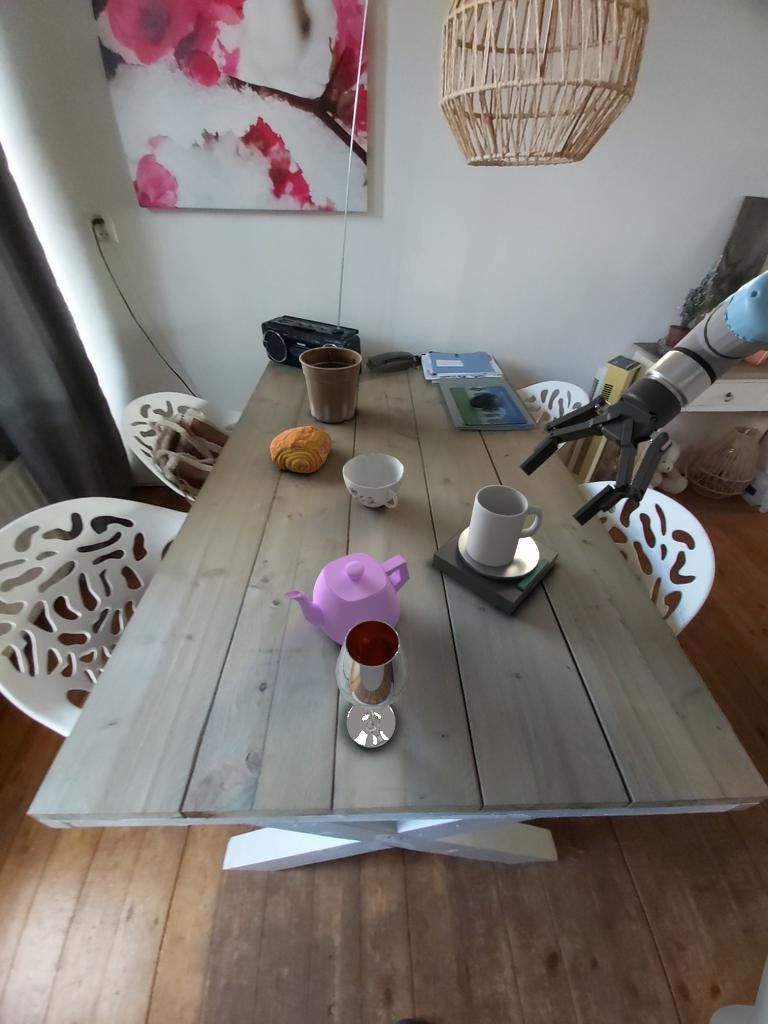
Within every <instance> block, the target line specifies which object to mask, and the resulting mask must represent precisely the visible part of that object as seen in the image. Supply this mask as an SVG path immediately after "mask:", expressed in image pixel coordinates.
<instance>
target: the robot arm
mask: <svg viewBox="0 0 768 1024" xmlns="http://www.w3.org/2000/svg"><path fill="white" fill-rule="evenodd" d="M759 352H768V270H765V272H762V273H761V274H759V275H758V276H757V277H754V278H753V279H751V280H749V281H747V282H746V283H745V284H743V285H742V286H741V287H740V288H739V289H738V290H737V291H735V292H734V293H732V294H731V295H729V296H728V297H727V298H726V299H725V300H723V301H722V302H720V303H719V304H718V305H716V306H715V307H714V308H712V310H710V312H709V313H708V314H707V316H705V317H704V318H703V319H702V320H701V321H700V322H699V323H698V324H696V326H695V327H693V329H691V330H690V331H689V332H688V333H687V334H686V335H685V336H684V337H683V338H682V339H681V340H680V341H678V343H676V345H674V347H673V348H671V349H670V350H669V351H668V352H666V353H665V354H664V355H662V357H661V358H660V359H658V360H657V361H656V362H655V363H654V364H653V365H651V366H650V367H649V368H648V369H647V370H646V371H645V373H644V376H642V377H639V378H638V379H637V380H636V381H635V382H634V383H632V384H631V385H630V386H629V387H628V388H627V389H625V391H624V392H623V393H622V395H621V396H620V398H619V400H618V401H616V402H615V403H613V404H611V403H610V402H608V401H607V399H606V397H605V396H604V395H603V394H600V395H597V396H596V397H594V398H593V399H592V400H591V401H589V402H588V403H587V404H585V405H583V406H580V407H579V408H576V409H574V410H572V411H569V412H568V413H566V414H563V415H561V416H559V417H557V418H555V419H554V420H551V421H549V422H547V423H545V424H543V429H544V430H545V432H546V437H545V438H544V439H543V440H542V441H540V443H539V444H537V445H536V446H535V447H534V448H533V450H532V451H533V453H532V454H531V455H530V456H529V457H527V459H525V460H524V462H522V463H521V464H520V465H519V466H518V467H519V468H520V469H521V470H522V472H523V473H525V475H527V477H530V476H531V475H532V474H534V472H535V471H537V470H538V469H539V468H540V467H541V466H542V465H543V464H544V463H545V462H546V461H547V460H549V458H551V457H552V456H553V455H554V454H555V453H556V452H557V451H558V450H559V445H561V444H565V443H570V442H574V441H578V440H582V439H586V438H590V437H594V436H596V437H603V436H604V438H605V439H606V440H608V441H610V442H613V443H614V444H615V445H616V446H617V447H618V448H621V450H620V456H619V461H618V466H617V473H616V478H615V483H613V484H612V485H613V486H612V485H611V484H609V483H608V484H607V485H606V486H605V487H603V488H602V489H601V490H600V491H599V492H598V493H597V494H595V495H594V496H593V497H592V498H591V499H590V500H588V501H587V502H586V503H585V504H584V505H583V506H581V507H580V508H579V509H578V510H577V511H576V512H575V513H574V514H572V515H571V516H572V517H573V519H574V520H575V521H576V522H577V523H578V524H579V525H580V526H581V527H583V526H584V525H586V524H587V523H589V521H590V520H591V519H593V518H594V517H595V516H596V515H598V514H599V513H600V512H603V513H607V512H609V511H610V510H611V509H612V508H613V507H614V506H616V505H618V503H619V502H621V501H622V500H623V499H630V500H632V501H634V502H636V503H639V502H641V501H643V499H644V498H645V495H646V493H647V491H648V488H649V486H650V485H651V482H652V480H653V477H654V475H655V474H656V471H657V468H658V466H659V465H660V462H661V460H662V457H663V456H664V455H665V454H666V453H667V452H668V451H669V450H670V449H671V448H672V446H673V441H672V439H671V437H670V434H669V433H668V432H667V431H663V432H659V430H660V429H663V428H665V427H666V426H667V425H668V424H669V423H670V422H671V421H673V420H674V419H675V418H676V417H677V416H679V414H681V412H682V409H683V408H688V406H689V405H690V404H692V403H693V402H694V401H695V400H696V399H697V398H699V397H700V396H701V395H702V394H703V393H705V392H706V390H708V389H709V388H710V387H711V386H712V385H714V384H715V382H717V381H718V380H719V379H720V378H721V377H723V376H724V375H725V374H726V373H727V372H729V370H731V369H732V368H733V367H734V366H736V365H737V364H738V363H739V362H741V361H742V360H745V359H746V358H748V357H750V356H753V355H754V354H756V353H759ZM645 442H648V444H649V445H648V447H647V448H646V451H645V453H644V455H643V458H642V459H641V462H640V464H639V466H638V468H637V470H636V473H635V475H634V477H633V474H634V468H635V460H636V457H637V456H638V452H639V445H640V444H641V443H645ZM759 982H760V983H759V987H758V991H757V994H756V997H755V1001H754V1005H748V1004H739V1003H738V1004H727V1005H725V1006H722V1007H719V1008H718V1009H717V1010H716V1011H715V1012H714V1013H713V1014H712V1016H711V1018H710V1019H709V1022H708V1024H768V954H767V955H766V959H765V963H764V966H763V970H762V974H761V979H760V981H759Z"/></svg>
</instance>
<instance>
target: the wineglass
mask: <svg viewBox="0 0 768 1024" xmlns="http://www.w3.org/2000/svg"><path fill="white" fill-rule="evenodd" d="M334 672H335V682H336V684H337V687H338V690H339V691H340V693H341V695H342V696H343V697H344V698H345V700H346V701H347V702H349V703H350V704H352V707H351V709H350V710H349V711H348V714H347V717H346V729H347V732H348V734H349V737H350V738H351V740H353V741H354V742H355V743H356V744H357V745H359V746H360V747H363V748H369V749H373V748H375V749H376V748H378V747H381V746H383V745H385V744H386V743H388V742H389V741H390V739H391V738H392V737H393V735H394V732H395V729H396V725H397V724H396V723H397V722H396V716H395V713H394V711H393V709H392V708H391V707H390V705H392V704H393V703H395V702H396V701H397V700H398V699H399V698H400V697H401V695H402V694H403V692H404V690H405V688H406V686H407V683H408V679H409V664H408V659H407V656H406V653H405V650H404V647H403V645H402V641H401V639H400V637H399V635H398V633H397V630H395V628H392V627H391V626H390V625H389V624H387V623H385V622H382V621H378V620H366V621H363V622H360V623H358V624H356V625H355V626H354V627H352V628H351V629H350V631H349V632H348V634H347V636H346V638H345V641H344V643H343V645H341V648H340V651H339V653H338V656H337V659H336V663H335V671H334Z"/></svg>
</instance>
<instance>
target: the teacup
mask: <svg viewBox="0 0 768 1024" xmlns="http://www.w3.org/2000/svg"><path fill="white" fill-rule="evenodd" d="M404 475H405V467H404V465H403V464H402V463H401V461H400V460H399V459H398V458H396V457H394V456H391V455H389V454H383V453H379V452H373V453H372V452H365V453H361V454H359V455H356V456H354V457H351V458H350V459H349V460H347V461H346V463H345V464H344V465H343V467H342V476H343V480H344V483H345V486H346V488H347V490H348V492H349V494H350V495H351V496H352V498H354V499H355V500H356V501H357V502H359V503H360V504H361V505H364V506H365V507H370V508H379V507H382V506H385V507H387V508H389V509H395V508H397V506H398V496H397V494H398V492H399V491H400V488H401V486H402V484H403V480H404ZM391 500H393V504H392V503H389V502H390V501H391Z"/></svg>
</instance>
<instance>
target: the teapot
mask: <svg viewBox="0 0 768 1024" xmlns="http://www.w3.org/2000/svg"><path fill="white" fill-rule="evenodd" d="M410 579H411V577H410V573H409V569H408V565H407V561H406V560H405V559H404V558H403V557H402V556H401V555H400V553H398V554H397V555H394V556H393V557H391V558H389V559H387V560H385V561H383V562H381V563H379V562H378V561H376V559H375V558H373V557H372V556H370V555H369V554H367V553H363V552H355V553H349V554H347V555H344V556H341V557H339V558H336V559H333V560H332V561H331V562H328V563H327V564H326V565H325V566H324V567H323V568H322V570H321V571H320V573H319V575H318V577H317V579H316V581H315V584H314V586H313V587H314V588H313V591H312V602H311V601H310V598H309V595H308V594H307V593H305V592H304V591H301V590H290V591H287V592H285V593H284V595H283V597H285V598H286V599H289V600H294V601H297V602H298V604H299V606H300V610H301V613H302V616H303V617H304V618H305V620H306V621H307V622H308V623H310V624H311V625H314V626H318V627H320V629H321V630H322V631H323V633H324V634H326V636H328V637H329V638H330V639H331V640H332V641H334V642H335V643H336V644H338V645H341V646H342V645H343V643H344V641H345V638H346V636H347V634H348V632H349V631H350V629H351V628H352V627H354V626H355V625H356V624H358V623H360V622H363V621H366V620H378V621H382V622H385V623H387V624H389V625H390V626H391V627H392V628H393V629H395V627H396V625H397V624H398V623H399V620H400V613H401V609H400V601H399V597H398V594H397V593H398V592H399V591H400V589H402V587H404V586H405V584H406V583H407V582H408V581H409V580H410Z"/></svg>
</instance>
